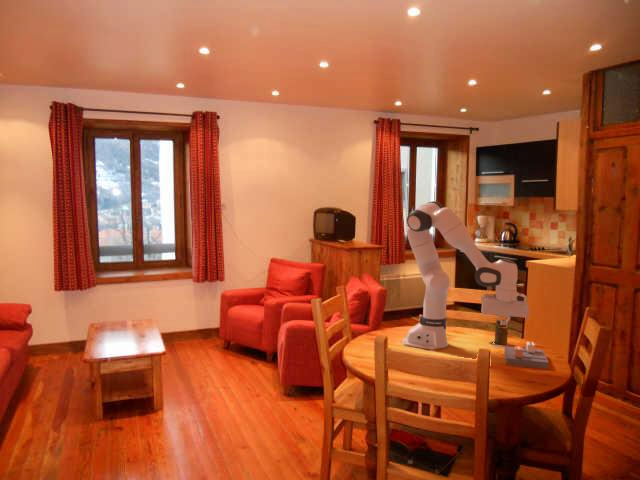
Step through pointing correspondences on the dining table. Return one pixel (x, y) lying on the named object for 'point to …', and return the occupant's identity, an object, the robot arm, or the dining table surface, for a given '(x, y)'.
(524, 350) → the console
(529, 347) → the fader far
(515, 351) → the fader near
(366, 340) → the dining table surface
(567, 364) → the dining table surface
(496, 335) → the condiment
